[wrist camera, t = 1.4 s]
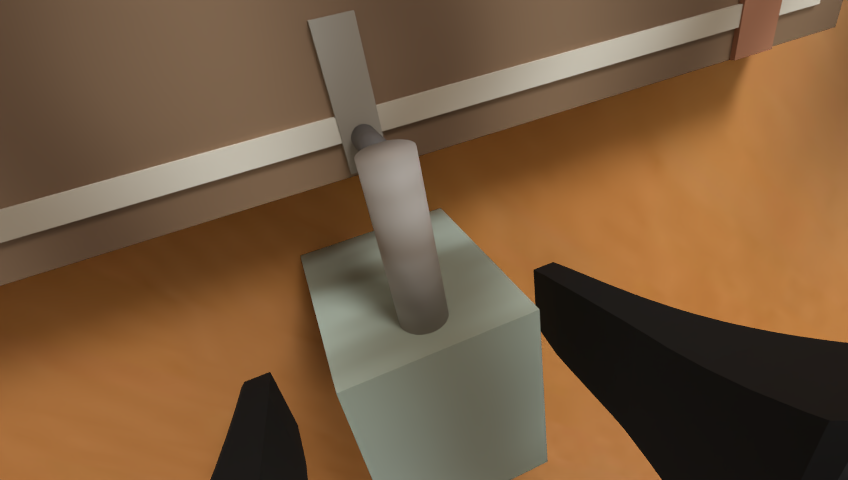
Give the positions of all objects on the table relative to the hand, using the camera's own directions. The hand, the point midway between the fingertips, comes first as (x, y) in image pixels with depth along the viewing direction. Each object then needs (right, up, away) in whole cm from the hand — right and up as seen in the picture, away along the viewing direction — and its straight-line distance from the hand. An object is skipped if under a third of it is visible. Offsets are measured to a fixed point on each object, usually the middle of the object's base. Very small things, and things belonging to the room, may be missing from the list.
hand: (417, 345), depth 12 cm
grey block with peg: (-1, +2, +1) cm, 3 cm away
